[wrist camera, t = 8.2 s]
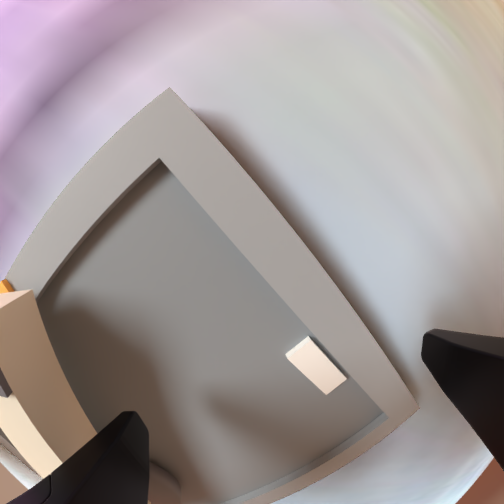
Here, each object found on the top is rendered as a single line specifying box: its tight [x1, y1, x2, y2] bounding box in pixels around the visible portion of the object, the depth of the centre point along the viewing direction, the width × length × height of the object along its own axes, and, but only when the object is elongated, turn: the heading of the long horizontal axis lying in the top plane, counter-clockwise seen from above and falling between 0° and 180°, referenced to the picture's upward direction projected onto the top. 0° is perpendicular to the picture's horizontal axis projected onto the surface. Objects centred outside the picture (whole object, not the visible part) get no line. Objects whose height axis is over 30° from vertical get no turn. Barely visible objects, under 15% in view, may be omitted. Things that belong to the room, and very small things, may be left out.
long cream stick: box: [0, 289, 181, 504], centre depth 6 cm, size 14×6×4 cm, turn 7°
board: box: [0, 87, 420, 504], centre depth 9 cm, size 22×17×2 cm
